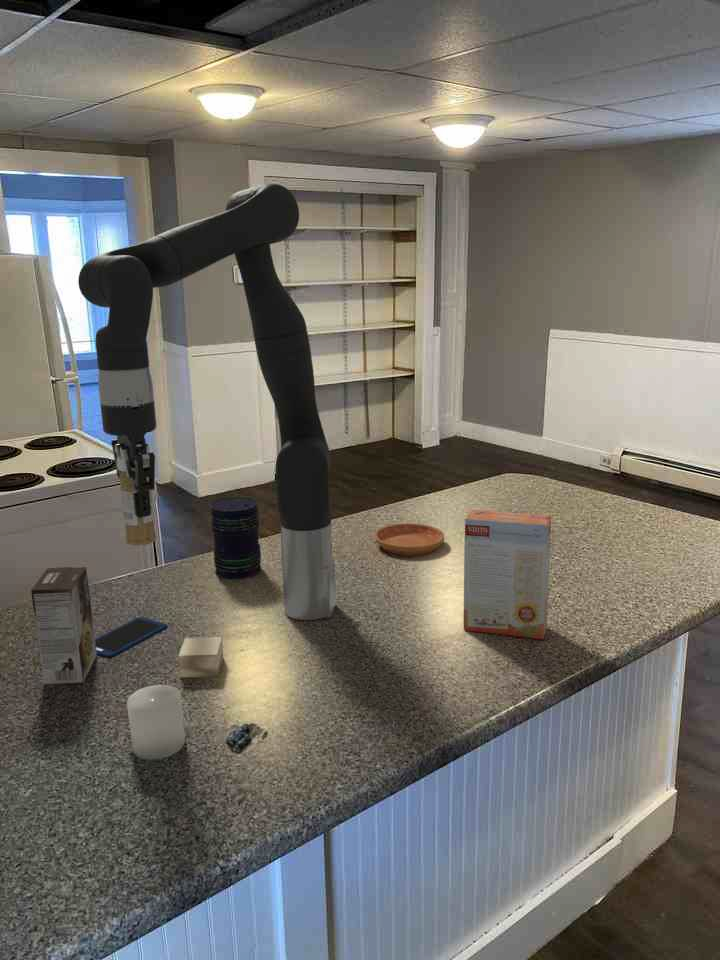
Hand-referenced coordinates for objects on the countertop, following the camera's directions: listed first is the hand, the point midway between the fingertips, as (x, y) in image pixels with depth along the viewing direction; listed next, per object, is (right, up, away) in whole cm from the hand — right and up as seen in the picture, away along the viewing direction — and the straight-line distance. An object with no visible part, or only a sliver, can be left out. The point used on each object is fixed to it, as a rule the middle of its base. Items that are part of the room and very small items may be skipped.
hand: (138, 511), depth 118 cm
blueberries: (+17, -32, -11) cm, 38 cm away
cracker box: (+59, -22, +21) cm, 66 cm away
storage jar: (+7, -15, +49) cm, 52 cm away
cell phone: (-8, -23, +20) cm, 32 cm away
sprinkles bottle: (0, -5, +1) cm, 5 cm away
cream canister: (+6, -31, -11) cm, 34 cm away
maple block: (+8, -26, +9) cm, 28 cm away
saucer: (+45, -11, +63) cm, 78 cm away
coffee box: (-13, -26, +9) cm, 31 cm away
